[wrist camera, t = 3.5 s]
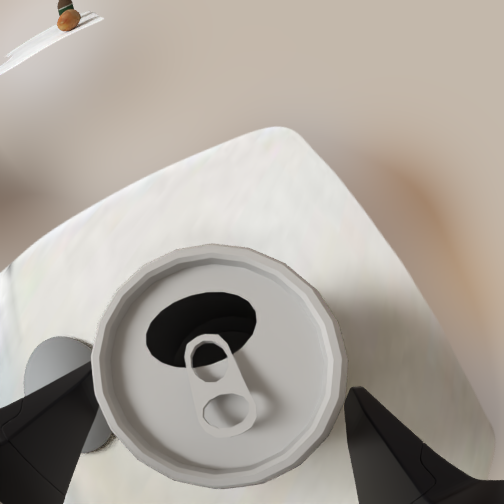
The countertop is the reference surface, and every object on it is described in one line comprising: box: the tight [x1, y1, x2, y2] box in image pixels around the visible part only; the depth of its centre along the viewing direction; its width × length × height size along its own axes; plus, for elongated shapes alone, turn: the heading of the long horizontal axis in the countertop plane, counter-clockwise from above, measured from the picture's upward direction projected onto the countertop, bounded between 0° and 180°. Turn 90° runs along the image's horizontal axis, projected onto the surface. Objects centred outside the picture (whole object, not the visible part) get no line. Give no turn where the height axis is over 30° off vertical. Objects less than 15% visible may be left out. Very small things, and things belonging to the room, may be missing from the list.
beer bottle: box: [58, 0, 74, 16], centre depth 60 cm, size 8×8×24 cm
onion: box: [57, 9, 81, 31], centre depth 57 cm, size 10×10×10 cm
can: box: [91, 244, 348, 489], centre depth 11 cm, size 8×8×12 cm
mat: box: [24, 337, 112, 453], centre depth 15 cm, size 9×9×1 cm
